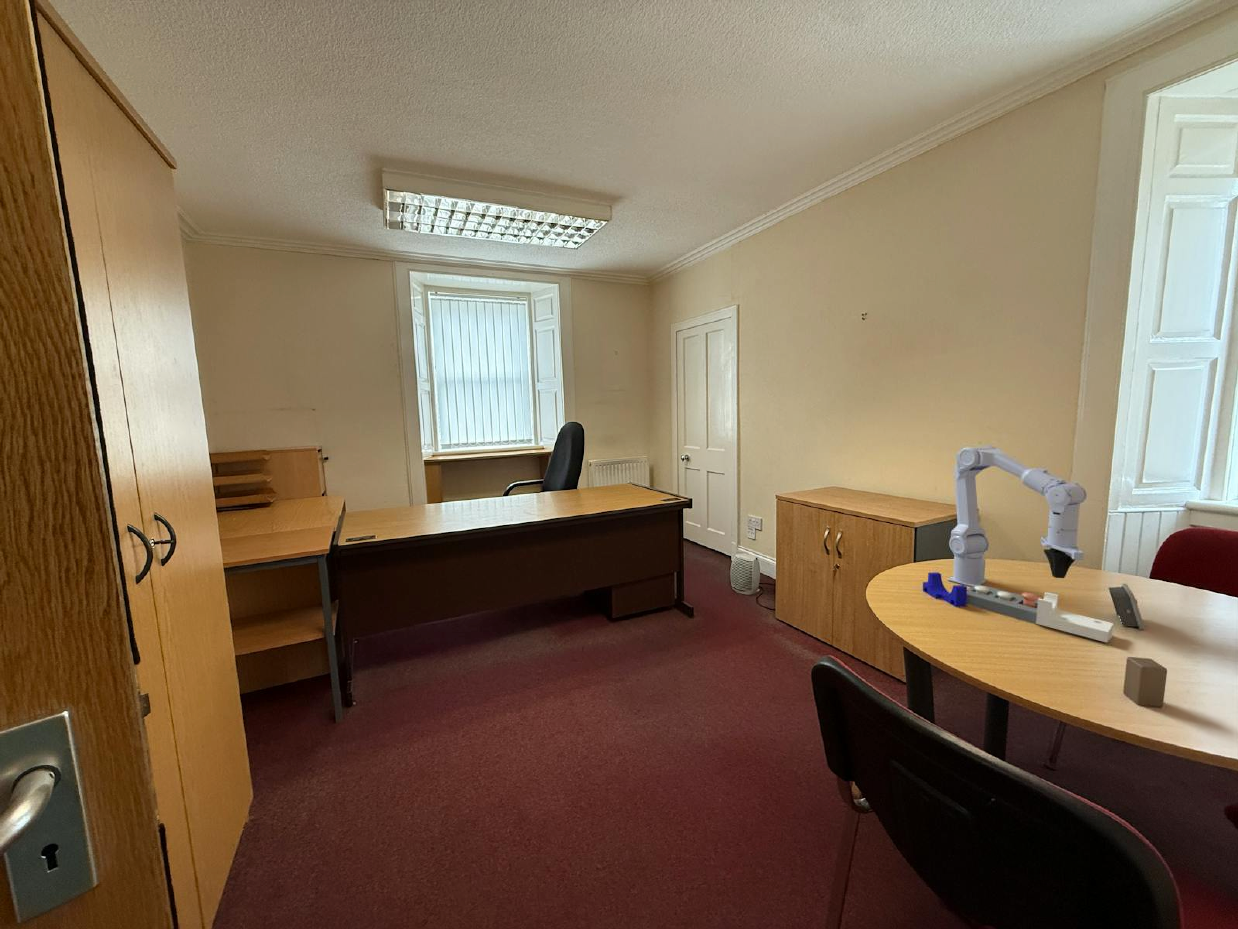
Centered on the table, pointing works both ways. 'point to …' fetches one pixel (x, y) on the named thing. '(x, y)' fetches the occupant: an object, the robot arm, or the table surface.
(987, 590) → the cream plug near
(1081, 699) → the table surface
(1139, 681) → the wooden block
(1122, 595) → the electrical switch
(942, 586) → the blue cradle holder
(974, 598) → the socket strip
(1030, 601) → the red plug
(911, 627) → the table surface
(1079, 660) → the table surface
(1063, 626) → the bracket
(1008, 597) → the cream plug mid
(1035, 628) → the table surface
